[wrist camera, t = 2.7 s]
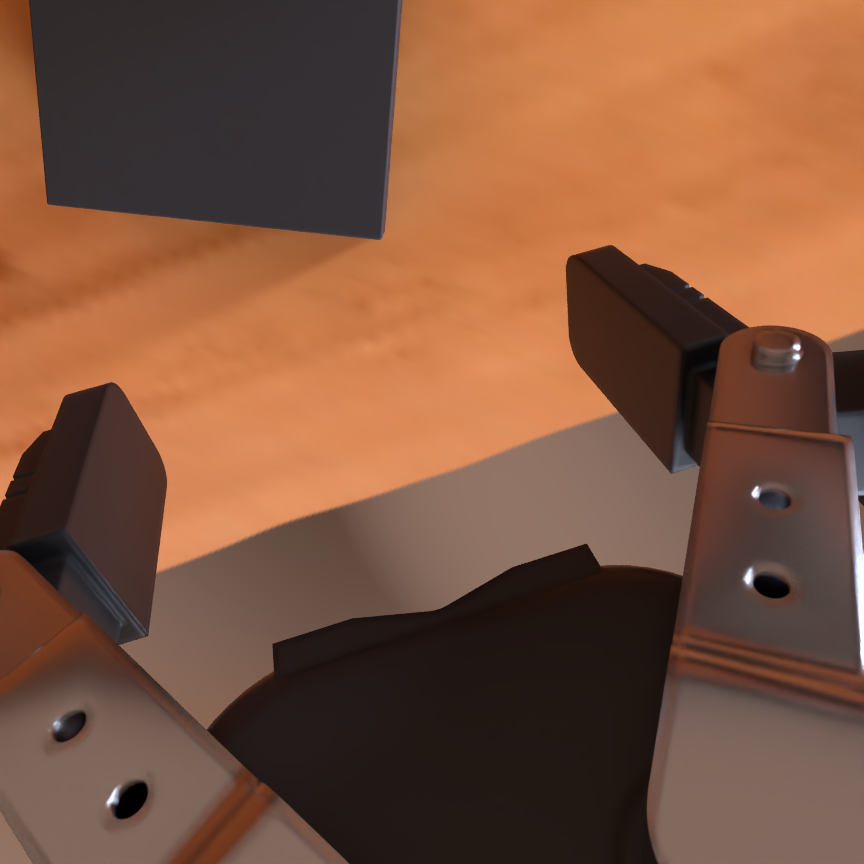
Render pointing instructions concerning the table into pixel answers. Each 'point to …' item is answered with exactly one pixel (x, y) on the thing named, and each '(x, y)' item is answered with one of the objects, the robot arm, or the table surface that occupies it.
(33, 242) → the table surface
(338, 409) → the table surface
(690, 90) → the table surface
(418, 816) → the robot arm
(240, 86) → the shelf
